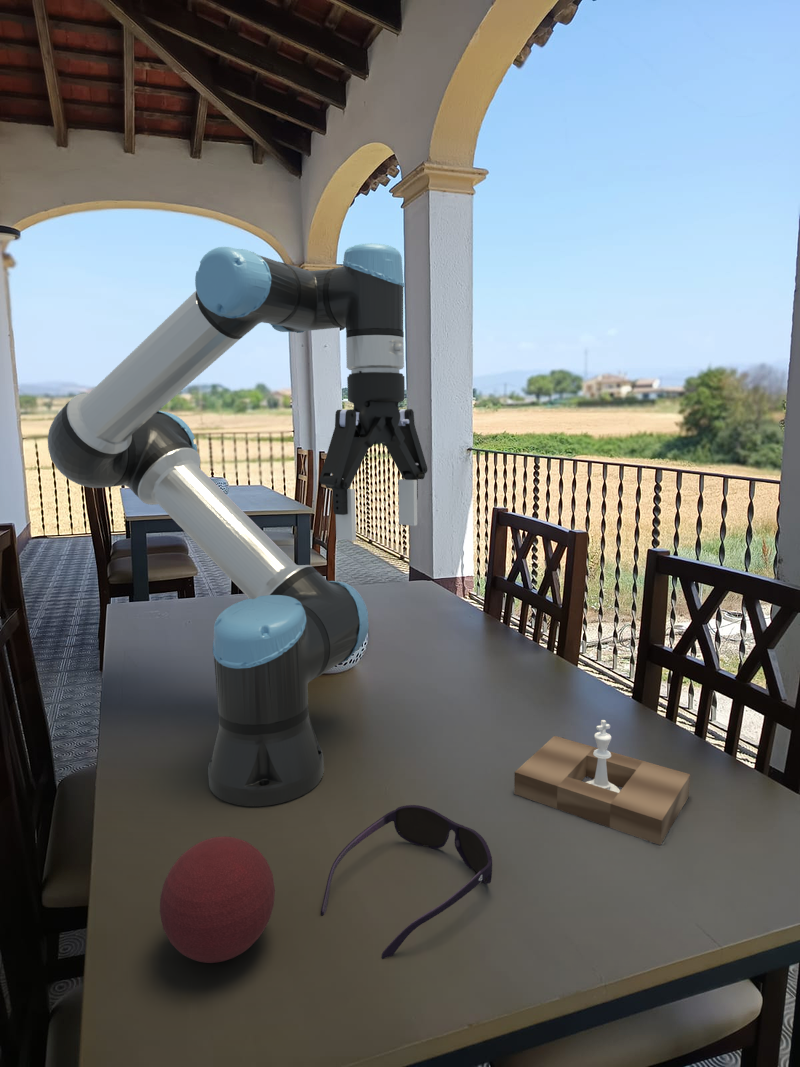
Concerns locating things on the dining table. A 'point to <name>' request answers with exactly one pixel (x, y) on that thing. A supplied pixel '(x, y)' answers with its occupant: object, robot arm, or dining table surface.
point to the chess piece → (602, 758)
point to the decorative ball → (217, 899)
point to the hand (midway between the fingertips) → (378, 531)
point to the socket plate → (634, 810)
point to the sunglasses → (434, 833)
